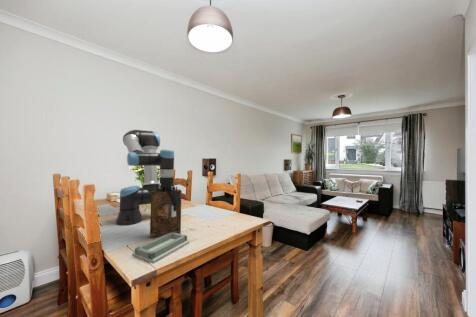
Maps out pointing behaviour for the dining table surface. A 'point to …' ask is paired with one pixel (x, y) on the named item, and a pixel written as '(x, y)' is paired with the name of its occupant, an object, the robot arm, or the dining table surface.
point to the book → (164, 214)
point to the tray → (161, 247)
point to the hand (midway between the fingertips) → (166, 215)
